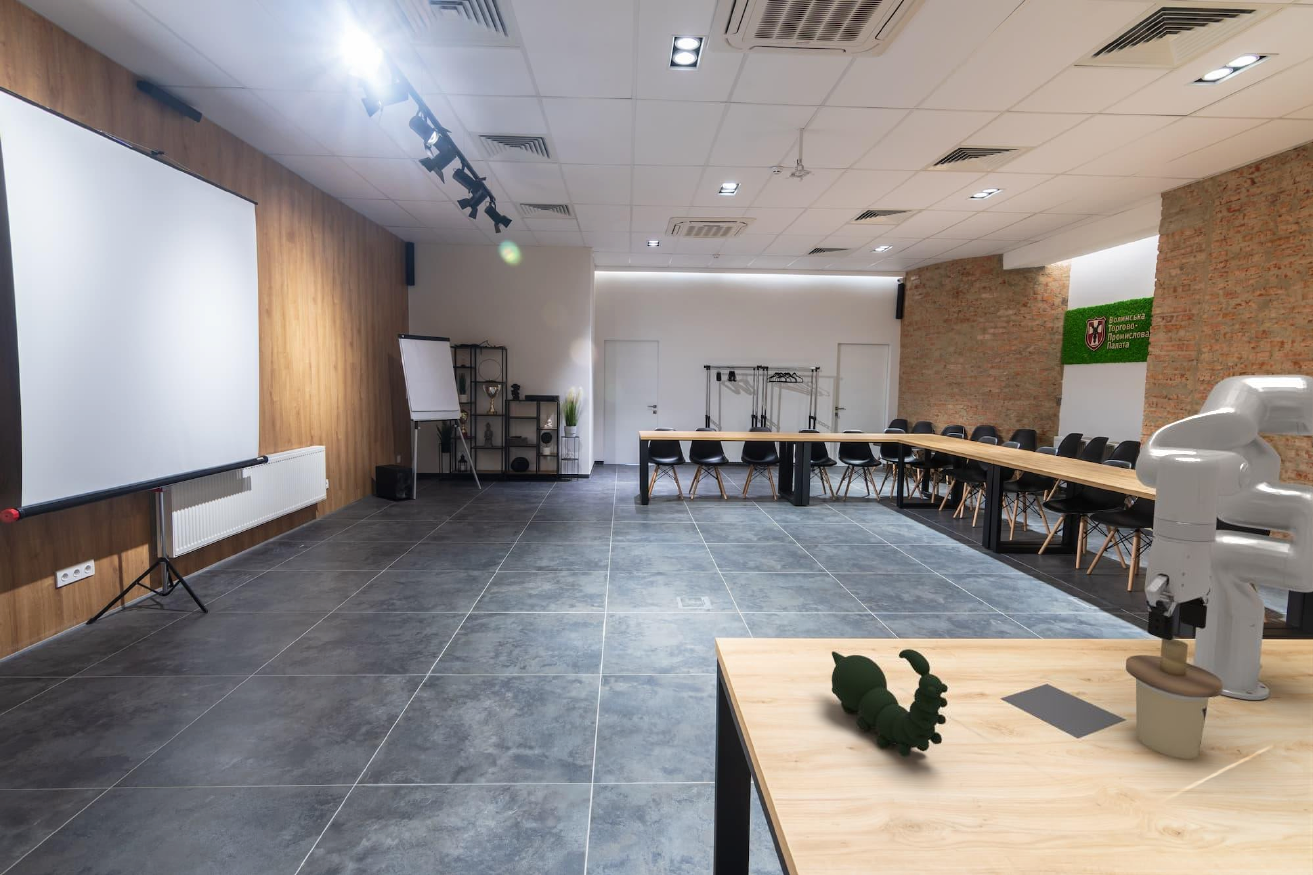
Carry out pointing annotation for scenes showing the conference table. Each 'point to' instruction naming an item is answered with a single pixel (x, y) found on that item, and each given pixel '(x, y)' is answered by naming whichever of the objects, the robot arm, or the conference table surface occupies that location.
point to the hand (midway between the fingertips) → (1176, 631)
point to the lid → (1174, 672)
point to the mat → (1063, 710)
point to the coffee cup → (1169, 721)
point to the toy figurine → (890, 701)
